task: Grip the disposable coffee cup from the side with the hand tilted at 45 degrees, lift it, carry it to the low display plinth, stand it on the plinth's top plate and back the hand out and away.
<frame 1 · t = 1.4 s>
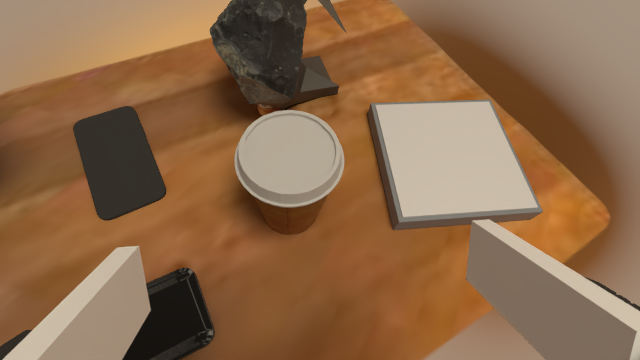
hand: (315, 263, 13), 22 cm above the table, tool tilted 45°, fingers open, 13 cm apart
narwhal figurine: (283, 99, 47), on the table
disposable coffee cup: (290, 209, 39), on the table
display plinth: (442, 163, 43), on the table
phone: (121, 161, 40), on the table
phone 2: (127, 339, 31), on the table
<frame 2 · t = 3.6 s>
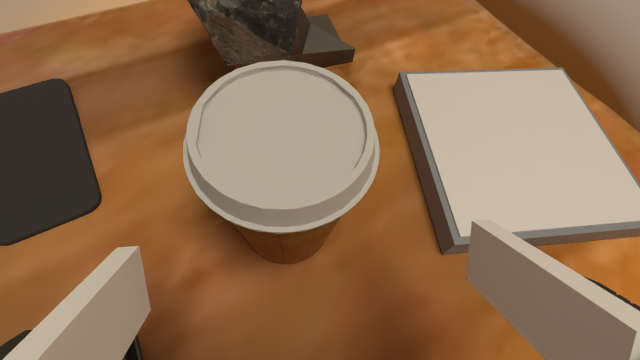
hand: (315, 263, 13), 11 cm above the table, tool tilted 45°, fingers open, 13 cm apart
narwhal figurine: (279, 69, 34), on the table
disposable coffee cup: (287, 225, 26), on the table
display plinth: (503, 155, 30), on the table
phone: (40, 156, 28), on the table
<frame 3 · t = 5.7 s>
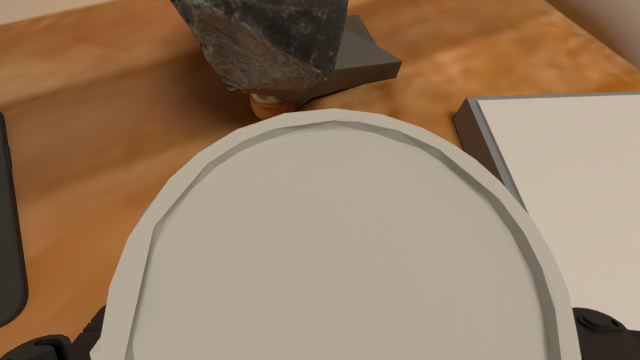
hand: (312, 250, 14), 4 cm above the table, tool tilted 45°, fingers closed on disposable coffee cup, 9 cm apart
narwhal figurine: (299, 88, 25), on the table
disposable coffee cup: (314, 339, 17), on the table, touching gripper
display plinth: (619, 217, 21), on the table
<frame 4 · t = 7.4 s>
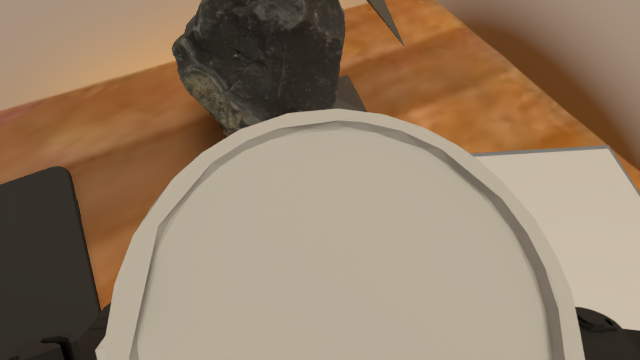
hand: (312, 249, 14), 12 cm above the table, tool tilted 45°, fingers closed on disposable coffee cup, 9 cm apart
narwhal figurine: (299, 142, 32), on the table
disposable coffee cup: (314, 340, 17), point 7 cm above the table, touching gripper
display plinth: (547, 251, 27), on the table
phone: (37, 261, 25), on the table
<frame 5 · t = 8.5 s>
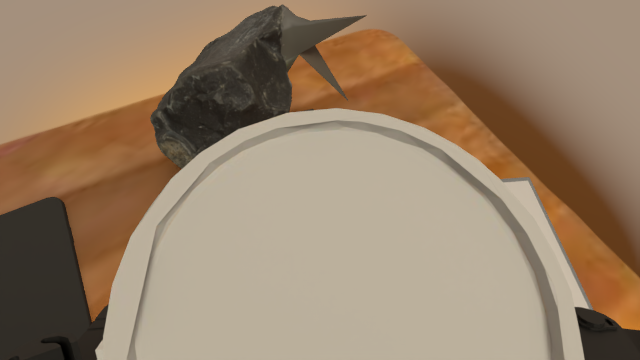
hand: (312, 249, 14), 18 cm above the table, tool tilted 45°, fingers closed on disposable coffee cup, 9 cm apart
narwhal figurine: (267, 172, 37), on the table
disposable coffee cup: (314, 340, 17), point 13 cm above the table, touching gripper
display plinth: (471, 269, 33), on the table
phone: (36, 281, 30), on the table
when the fingers open (8 cm above the table, at t = 13.0 s): disposable coffee cup moves 4 cm, resting on display plinth.
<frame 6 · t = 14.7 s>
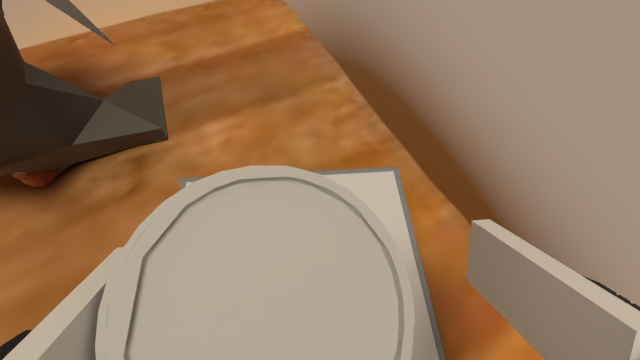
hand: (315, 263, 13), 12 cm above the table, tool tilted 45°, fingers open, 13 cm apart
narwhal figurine: (75, 151, 29), on the table
disposable coffee cup: (238, 309, 20), point 3 cm above the table, touching display plinth
display plinth: (299, 289, 24), on the table
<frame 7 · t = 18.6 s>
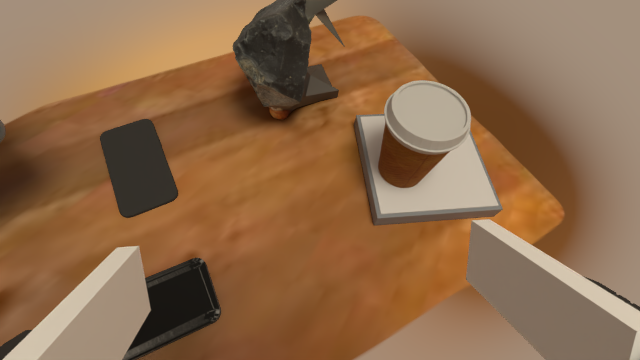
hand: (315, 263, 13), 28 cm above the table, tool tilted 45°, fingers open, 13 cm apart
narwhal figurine: (291, 102, 54), on the table
disposable coffee cup: (400, 169, 46), point 2 cm above the table, touching display plinth
display plinth: (419, 167, 49), on the table
phone: (139, 167, 47), on the table
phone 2: (148, 315, 38), on the table
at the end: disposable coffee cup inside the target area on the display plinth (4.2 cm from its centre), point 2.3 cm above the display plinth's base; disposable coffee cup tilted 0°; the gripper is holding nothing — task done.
